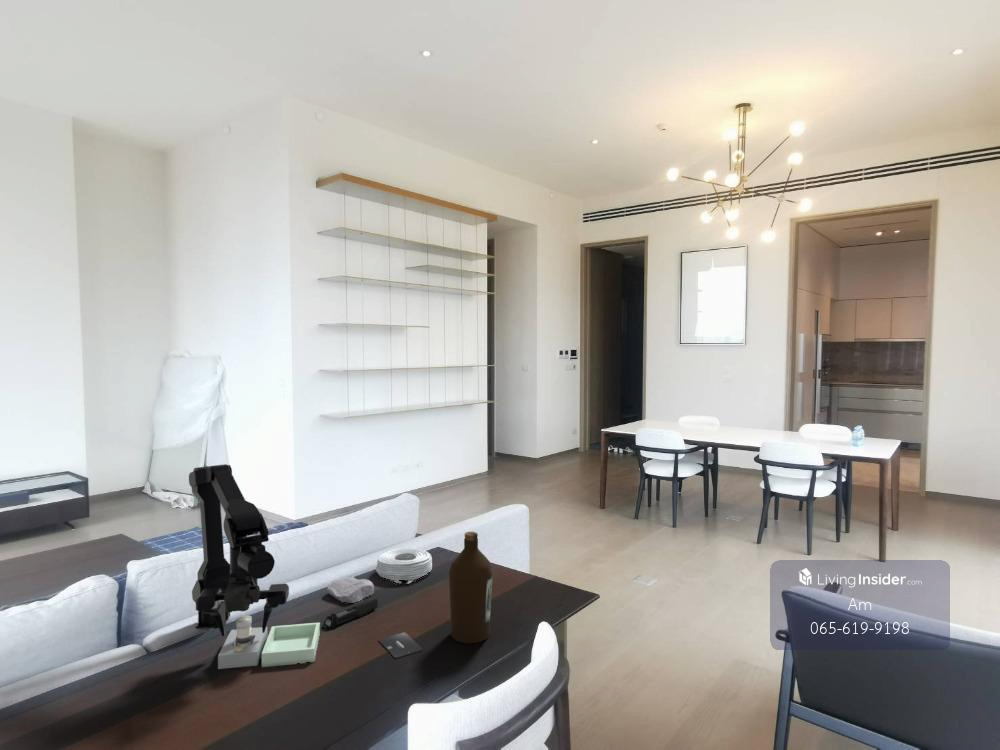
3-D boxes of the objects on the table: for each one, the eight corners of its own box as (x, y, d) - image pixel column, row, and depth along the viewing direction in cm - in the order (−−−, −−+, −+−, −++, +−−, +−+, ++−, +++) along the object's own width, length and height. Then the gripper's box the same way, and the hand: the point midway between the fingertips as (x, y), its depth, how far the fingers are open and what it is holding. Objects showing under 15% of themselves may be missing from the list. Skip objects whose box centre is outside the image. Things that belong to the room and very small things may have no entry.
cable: (405, 588, 170) (405, 568, 170) (363, 576, 180) (363, 556, 180) (443, 570, 185) (443, 552, 185) (402, 559, 194) (402, 542, 194)
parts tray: (261, 667, 126) (261, 653, 126) (271, 638, 139) (271, 626, 139) (314, 662, 128) (314, 648, 128) (319, 634, 141) (319, 622, 141)
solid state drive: (395, 660, 130) (395, 657, 130) (378, 642, 138) (378, 639, 138) (423, 652, 134) (423, 649, 134) (404, 634, 142) (404, 631, 142)
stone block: (352, 612, 158) (377, 593, 166) (349, 596, 157) (374, 577, 165) (322, 604, 164) (348, 585, 173) (319, 588, 163) (345, 570, 172)
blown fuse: (234, 657, 130) (234, 622, 130) (238, 650, 133) (238, 616, 133) (250, 656, 131) (250, 621, 130) (253, 649, 134) (252, 615, 134)
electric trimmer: (381, 611, 155) (381, 599, 155) (330, 631, 144) (331, 618, 143) (372, 607, 158) (372, 596, 158) (322, 626, 146) (322, 614, 146)
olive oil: (447, 645, 136) (448, 540, 136) (449, 624, 147) (450, 527, 146) (492, 645, 137) (493, 540, 136) (491, 624, 147) (492, 527, 147)
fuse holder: (218, 669, 125) (218, 652, 125) (231, 642, 137) (231, 627, 137) (257, 665, 127) (257, 649, 127) (267, 639, 139) (267, 624, 138)
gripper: (187, 582, 121) (188, 655, 122) (281, 576, 125) (281, 647, 126) (203, 563, 132) (203, 631, 133) (289, 558, 136) (289, 624, 137)
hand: (244, 633), depth 132 cm, fingers open, 8 cm apart
